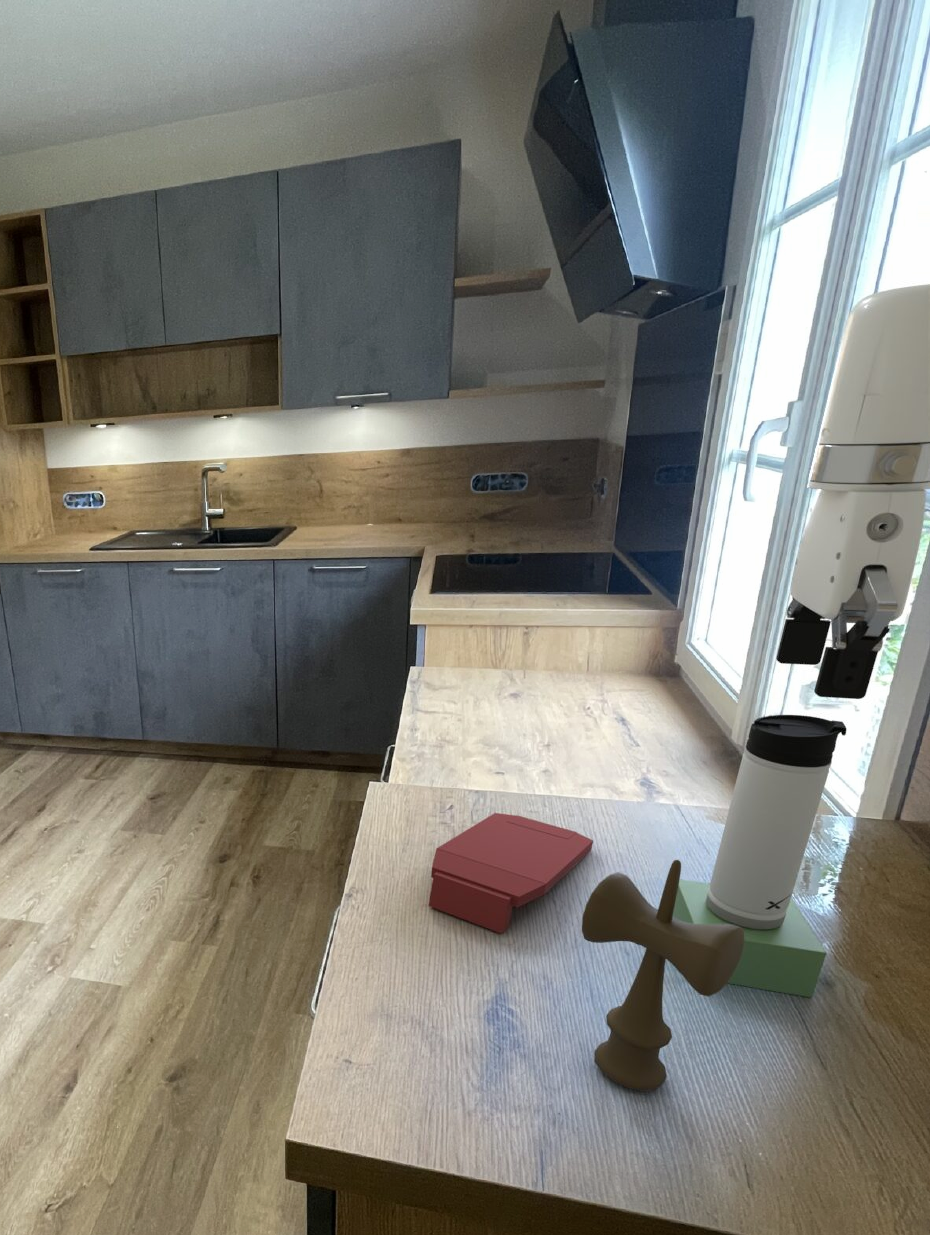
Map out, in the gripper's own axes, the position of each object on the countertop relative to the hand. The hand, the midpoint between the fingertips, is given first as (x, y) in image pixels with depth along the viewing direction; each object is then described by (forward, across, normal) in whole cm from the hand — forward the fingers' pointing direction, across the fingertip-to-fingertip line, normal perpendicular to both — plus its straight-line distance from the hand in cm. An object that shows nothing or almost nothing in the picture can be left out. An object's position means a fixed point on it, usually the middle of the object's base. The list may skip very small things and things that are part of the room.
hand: (816, 679), depth 67 cm
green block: (+29, 0, +1) cm, 29 cm away
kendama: (+29, -20, +13) cm, 37 cm away
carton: (+29, +10, +22) cm, 37 cm away
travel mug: (+24, 0, +1) cm, 24 cm away
